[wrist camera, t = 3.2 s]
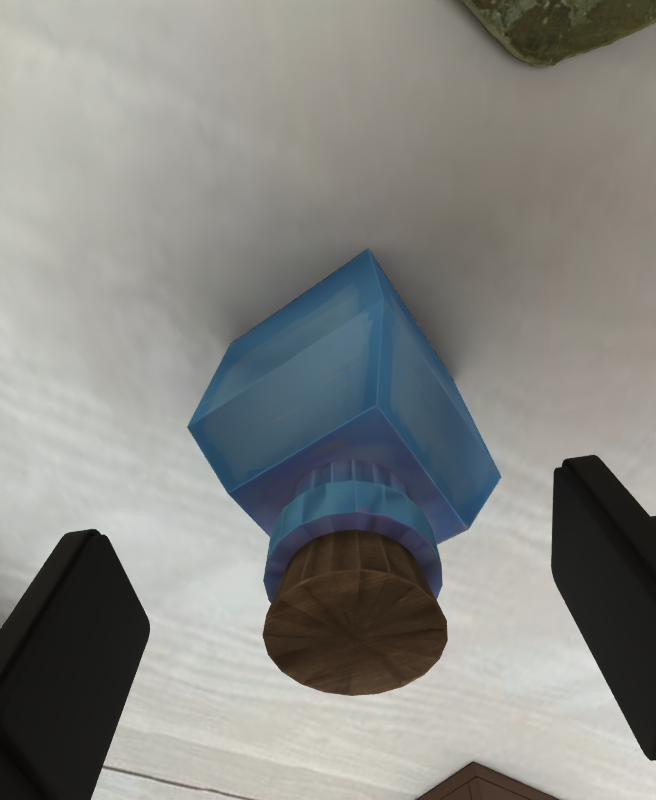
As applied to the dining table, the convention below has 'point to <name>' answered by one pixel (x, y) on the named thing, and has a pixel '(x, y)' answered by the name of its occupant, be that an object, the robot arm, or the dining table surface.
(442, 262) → the dining table surface
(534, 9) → the olive green rounded lump
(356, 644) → the perfume bottle
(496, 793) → the tray
